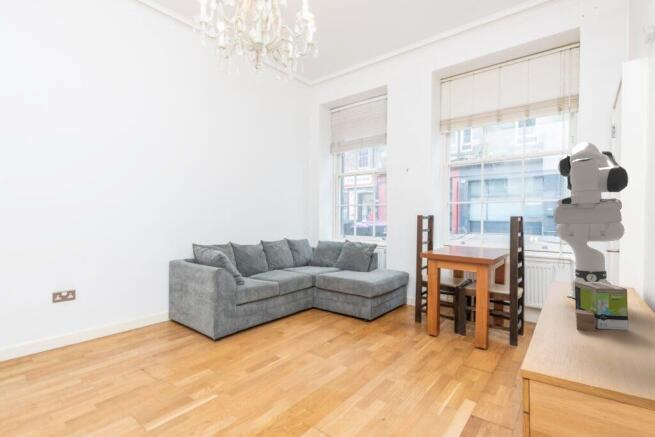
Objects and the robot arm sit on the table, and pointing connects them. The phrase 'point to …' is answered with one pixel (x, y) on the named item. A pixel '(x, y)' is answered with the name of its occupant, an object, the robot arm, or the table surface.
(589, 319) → the walnut block
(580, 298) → the tea box
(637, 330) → the table surface
